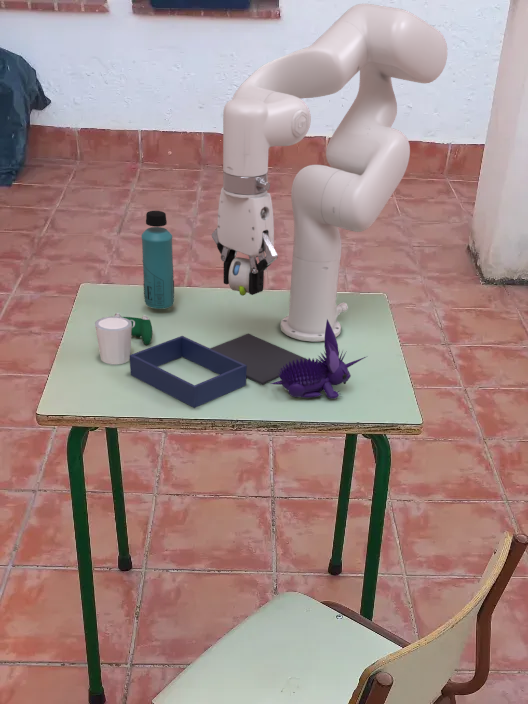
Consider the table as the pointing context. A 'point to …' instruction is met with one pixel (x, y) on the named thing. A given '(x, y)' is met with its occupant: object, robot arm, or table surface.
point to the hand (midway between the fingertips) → (243, 286)
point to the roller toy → (240, 275)
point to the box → (193, 395)
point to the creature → (317, 372)
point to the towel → (258, 357)
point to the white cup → (114, 339)
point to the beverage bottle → (157, 262)
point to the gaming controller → (140, 328)
